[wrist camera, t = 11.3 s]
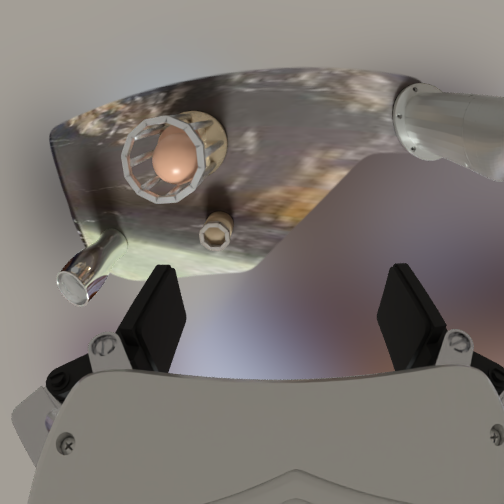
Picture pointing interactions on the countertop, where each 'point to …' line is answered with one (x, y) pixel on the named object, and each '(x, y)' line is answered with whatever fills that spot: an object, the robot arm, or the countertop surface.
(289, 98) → the countertop surface
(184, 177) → the terracotta ball
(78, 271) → the beer glass
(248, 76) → the countertop surface
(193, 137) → the cage tube
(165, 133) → the ball
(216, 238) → the stand
